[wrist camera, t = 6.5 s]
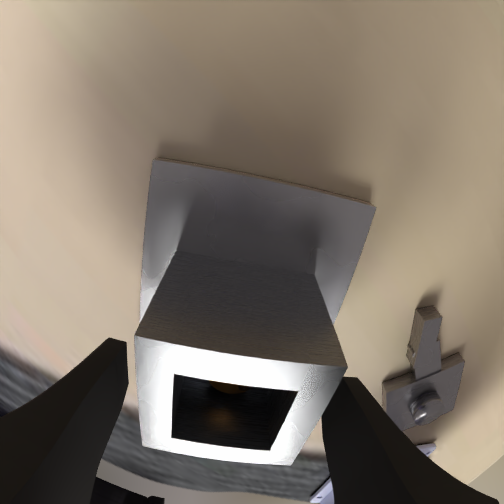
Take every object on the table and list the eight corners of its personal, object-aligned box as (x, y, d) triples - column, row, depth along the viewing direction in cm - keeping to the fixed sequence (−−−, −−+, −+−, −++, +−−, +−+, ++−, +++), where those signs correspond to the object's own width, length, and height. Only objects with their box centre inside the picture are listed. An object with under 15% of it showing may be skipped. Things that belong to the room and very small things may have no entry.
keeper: (285, 417, 16) (290, 470, 13) (143, 395, 16) (127, 446, 12) (370, 202, 11) (413, 237, 8) (157, 157, 11) (119, 175, 7)
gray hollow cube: (281, 372, 14) (290, 465, 9) (168, 354, 13) (142, 445, 9) (314, 274, 12) (348, 367, 7) (176, 250, 11) (134, 335, 7)
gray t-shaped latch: (448, 401, 17) (458, 420, 15) (382, 427, 17) (389, 448, 16) (465, 289, 13) (484, 308, 11) (378, 321, 14) (391, 346, 12)
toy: (168, 483, 20) (-78, 361, 17) (155, 554, 14) (-106, 401, 11) (165, 522, 28) (-21, 443, 26) (158, 564, 22) (-36, 476, 20)
